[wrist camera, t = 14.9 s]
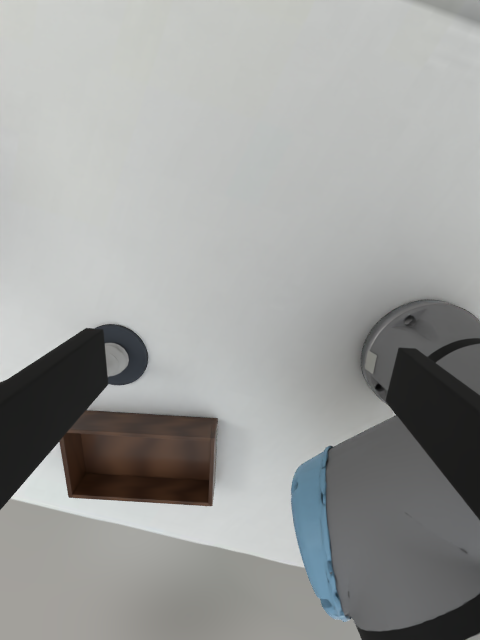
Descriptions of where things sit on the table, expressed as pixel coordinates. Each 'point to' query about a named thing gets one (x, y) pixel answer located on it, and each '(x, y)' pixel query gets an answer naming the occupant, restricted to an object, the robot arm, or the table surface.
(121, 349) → the rook chess piece
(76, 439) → the tray
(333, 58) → the table surface
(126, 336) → the coaster
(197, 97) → the table surface
